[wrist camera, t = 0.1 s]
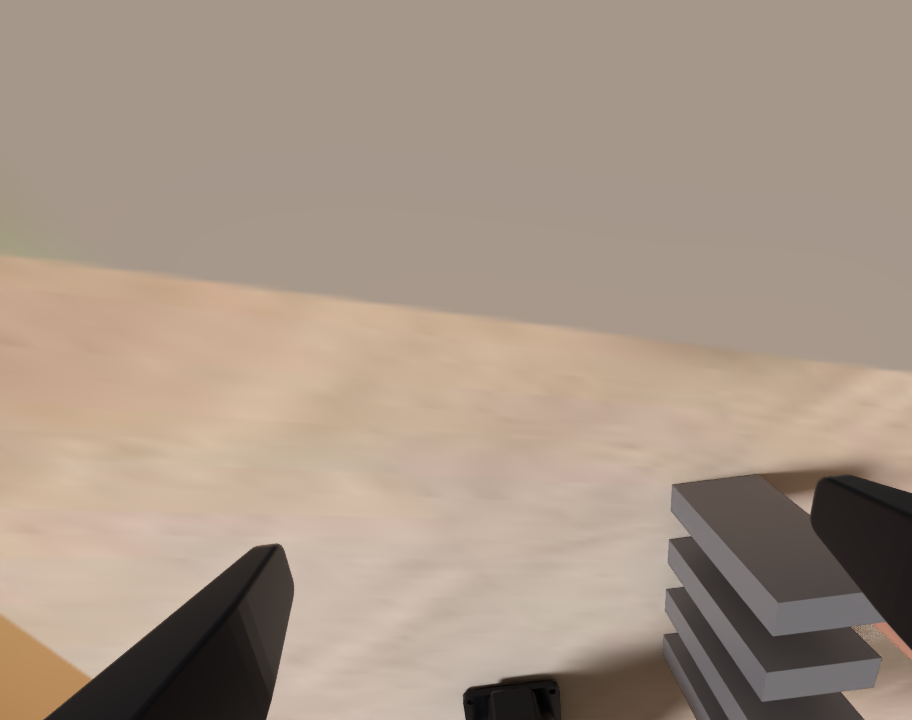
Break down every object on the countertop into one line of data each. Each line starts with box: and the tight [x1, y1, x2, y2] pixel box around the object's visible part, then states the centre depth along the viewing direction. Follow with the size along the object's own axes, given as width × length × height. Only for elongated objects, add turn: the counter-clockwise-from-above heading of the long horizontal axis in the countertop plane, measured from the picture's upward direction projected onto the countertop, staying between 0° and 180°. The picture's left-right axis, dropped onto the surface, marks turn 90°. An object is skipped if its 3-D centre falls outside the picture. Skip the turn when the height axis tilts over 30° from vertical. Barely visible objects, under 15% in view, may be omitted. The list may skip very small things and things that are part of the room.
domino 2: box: [663, 633, 729, 720], centre depth 25 cm, size 2×5×8 cm, turn 96°
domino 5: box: [671, 474, 886, 636], centre depth 21 cm, size 2×5×8 cm, turn 96°
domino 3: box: [665, 587, 864, 720], centre depth 24 cm, size 2×5×8 cm, turn 97°
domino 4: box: [668, 537, 882, 702], centre depth 22 cm, size 2×5×8 cm, turn 96°
